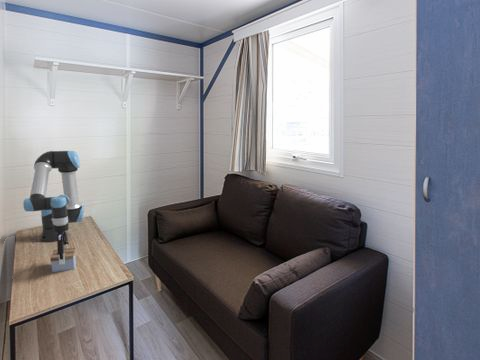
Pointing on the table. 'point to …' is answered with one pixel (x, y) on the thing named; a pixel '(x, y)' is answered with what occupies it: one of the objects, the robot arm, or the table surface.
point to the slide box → (64, 265)
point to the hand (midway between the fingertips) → (63, 259)
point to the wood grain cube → (67, 253)
